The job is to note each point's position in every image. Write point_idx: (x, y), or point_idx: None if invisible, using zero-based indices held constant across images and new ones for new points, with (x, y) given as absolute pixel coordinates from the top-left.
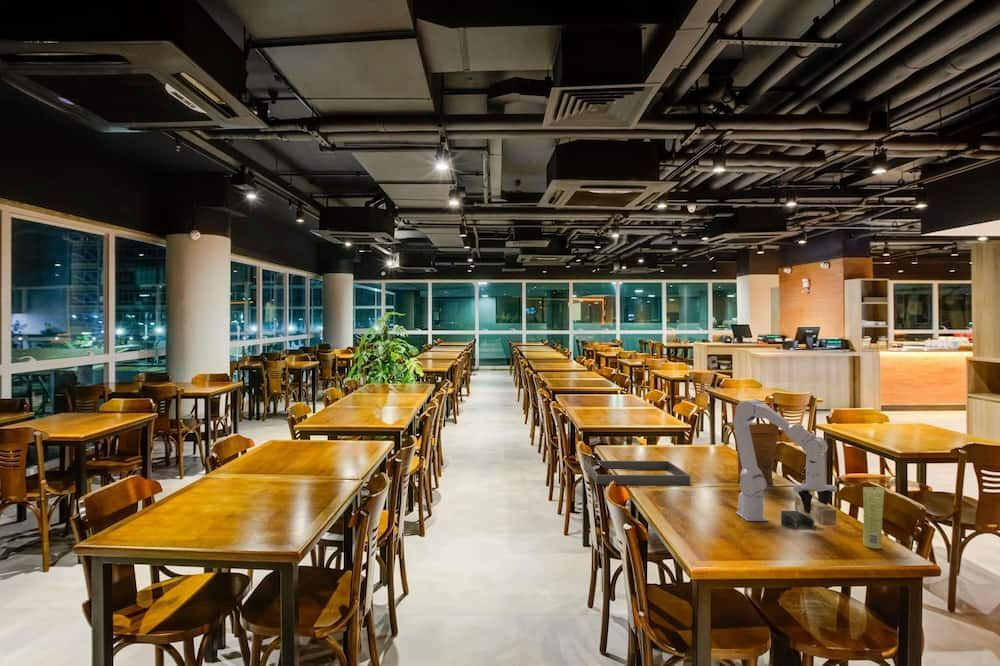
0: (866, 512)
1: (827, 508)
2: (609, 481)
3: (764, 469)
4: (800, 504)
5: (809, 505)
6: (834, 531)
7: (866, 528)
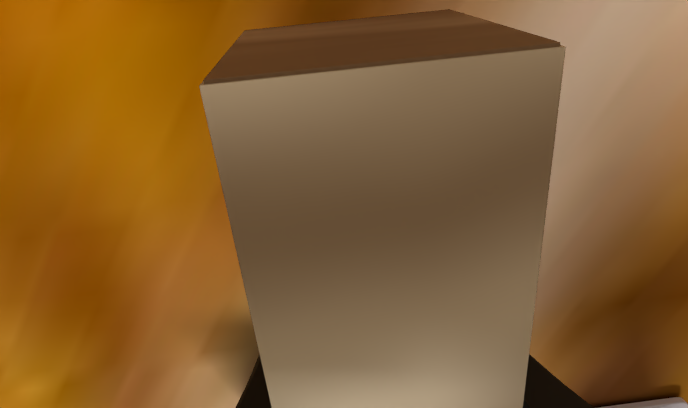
0: None
1: (371, 187)
2: None
3: None
4: None
5: (537, 387)
6: (139, 300)
7: None
